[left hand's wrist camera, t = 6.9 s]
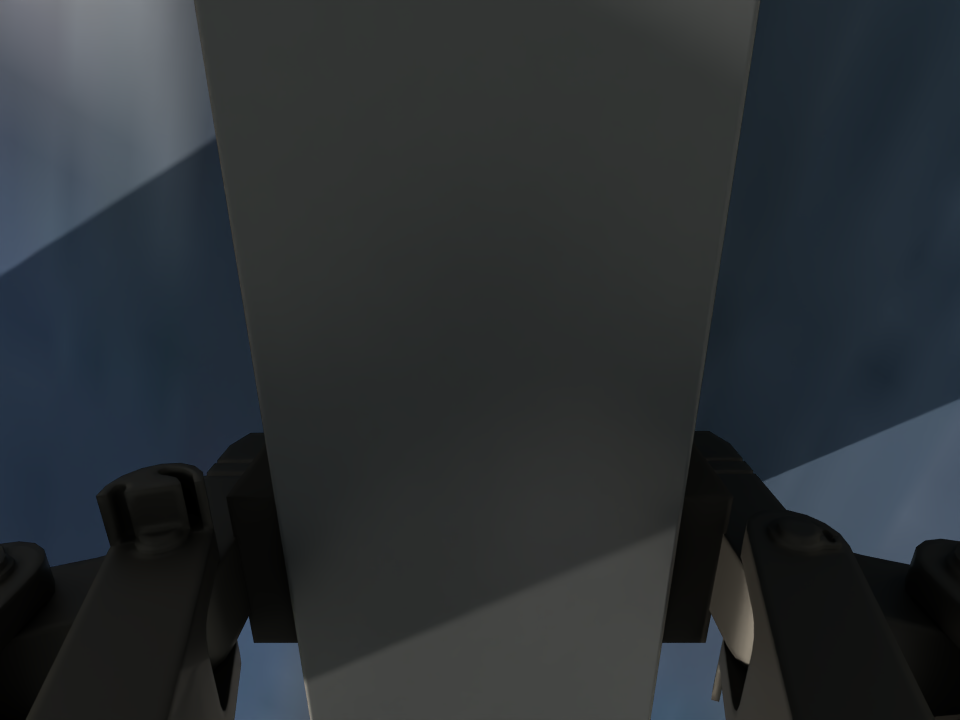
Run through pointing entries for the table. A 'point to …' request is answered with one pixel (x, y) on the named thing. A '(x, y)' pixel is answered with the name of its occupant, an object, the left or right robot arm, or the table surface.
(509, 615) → the bar
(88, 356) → the table surface
